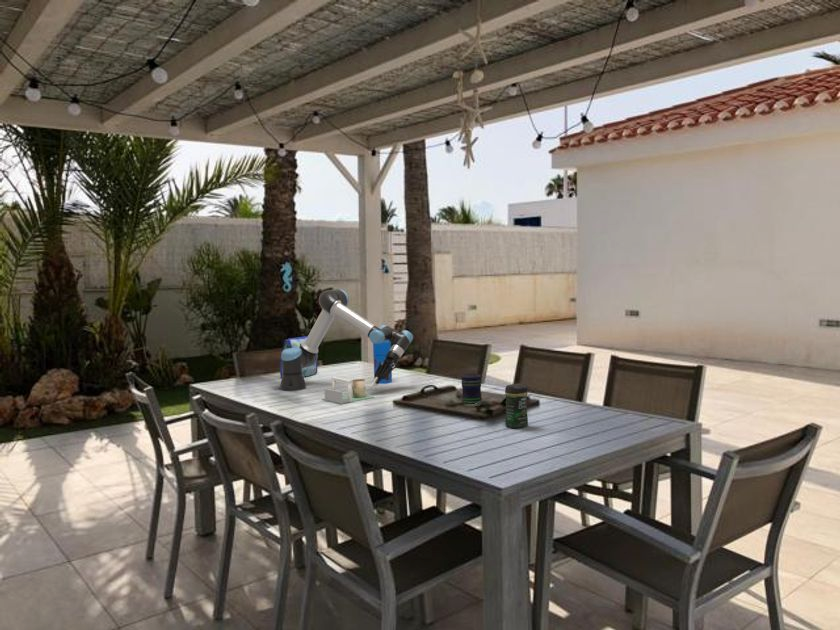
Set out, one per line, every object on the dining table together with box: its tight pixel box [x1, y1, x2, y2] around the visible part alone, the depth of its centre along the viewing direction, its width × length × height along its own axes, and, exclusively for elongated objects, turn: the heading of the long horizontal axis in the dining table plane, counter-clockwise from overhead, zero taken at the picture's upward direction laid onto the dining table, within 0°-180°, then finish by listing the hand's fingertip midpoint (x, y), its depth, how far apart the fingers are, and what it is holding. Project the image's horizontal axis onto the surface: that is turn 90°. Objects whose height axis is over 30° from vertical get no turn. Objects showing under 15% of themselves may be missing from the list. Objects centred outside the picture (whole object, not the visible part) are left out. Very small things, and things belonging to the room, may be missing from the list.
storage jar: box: [461, 373, 483, 404], centre depth 336 cm, size 10×10×15 cm
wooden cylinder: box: [351, 378, 367, 398], centre depth 365 cm, size 7×7×9 cm
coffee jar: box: [504, 382, 529, 429], centre depth 290 cm, size 10×8×19 cm
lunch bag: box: [279, 335, 318, 379], centre depth 439 cm, size 22×17×26 cm
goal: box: [324, 376, 353, 405], centre depth 356 cm, size 16×7×11 cm, turn 41°
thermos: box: [372, 341, 393, 385], centre depth 410 cm, size 11×11×25 cm
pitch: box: [321, 392, 375, 405], centre depth 363 cm, size 18×22×1 cm
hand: (371, 387), depth 370 cm, fingers closed
